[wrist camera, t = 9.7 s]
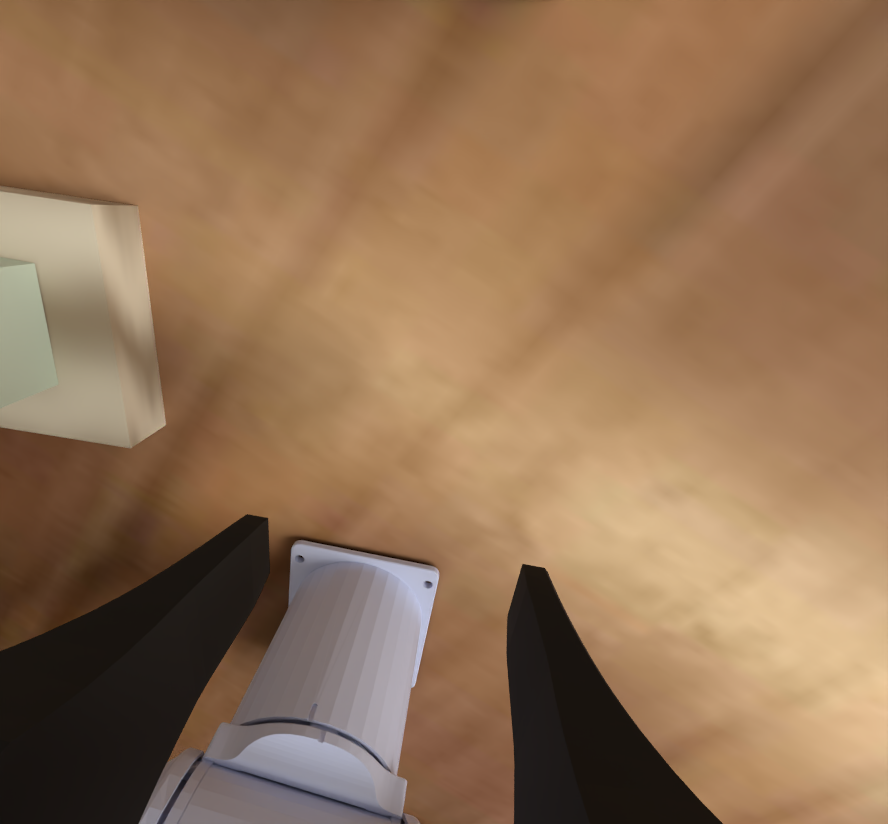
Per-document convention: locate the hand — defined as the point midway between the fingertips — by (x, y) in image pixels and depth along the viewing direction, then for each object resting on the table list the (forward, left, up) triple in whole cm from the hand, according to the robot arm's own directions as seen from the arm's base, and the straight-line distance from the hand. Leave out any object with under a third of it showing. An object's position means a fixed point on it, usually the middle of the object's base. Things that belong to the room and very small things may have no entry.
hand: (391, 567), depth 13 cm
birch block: (+2, +18, -10) cm, 21 cm away
